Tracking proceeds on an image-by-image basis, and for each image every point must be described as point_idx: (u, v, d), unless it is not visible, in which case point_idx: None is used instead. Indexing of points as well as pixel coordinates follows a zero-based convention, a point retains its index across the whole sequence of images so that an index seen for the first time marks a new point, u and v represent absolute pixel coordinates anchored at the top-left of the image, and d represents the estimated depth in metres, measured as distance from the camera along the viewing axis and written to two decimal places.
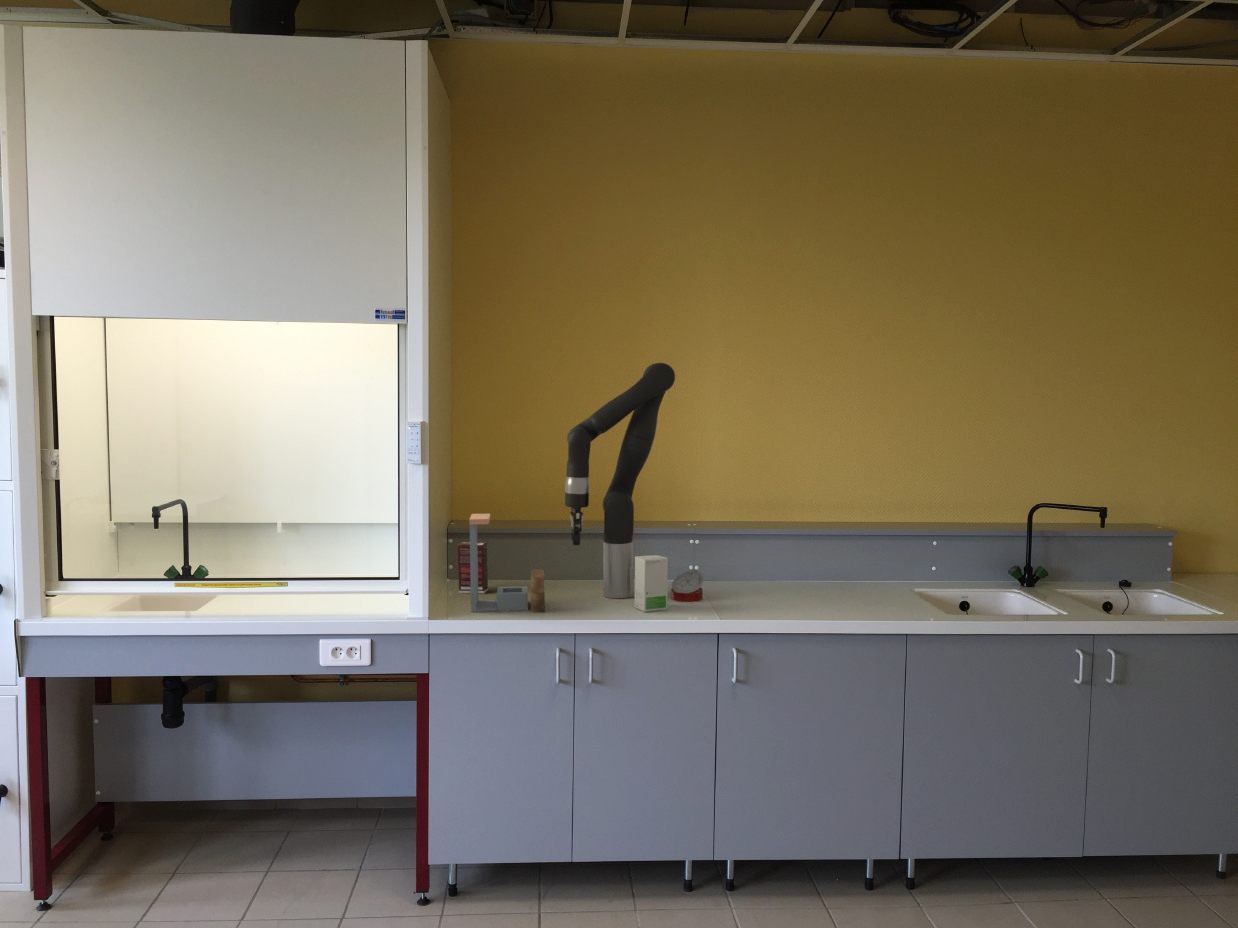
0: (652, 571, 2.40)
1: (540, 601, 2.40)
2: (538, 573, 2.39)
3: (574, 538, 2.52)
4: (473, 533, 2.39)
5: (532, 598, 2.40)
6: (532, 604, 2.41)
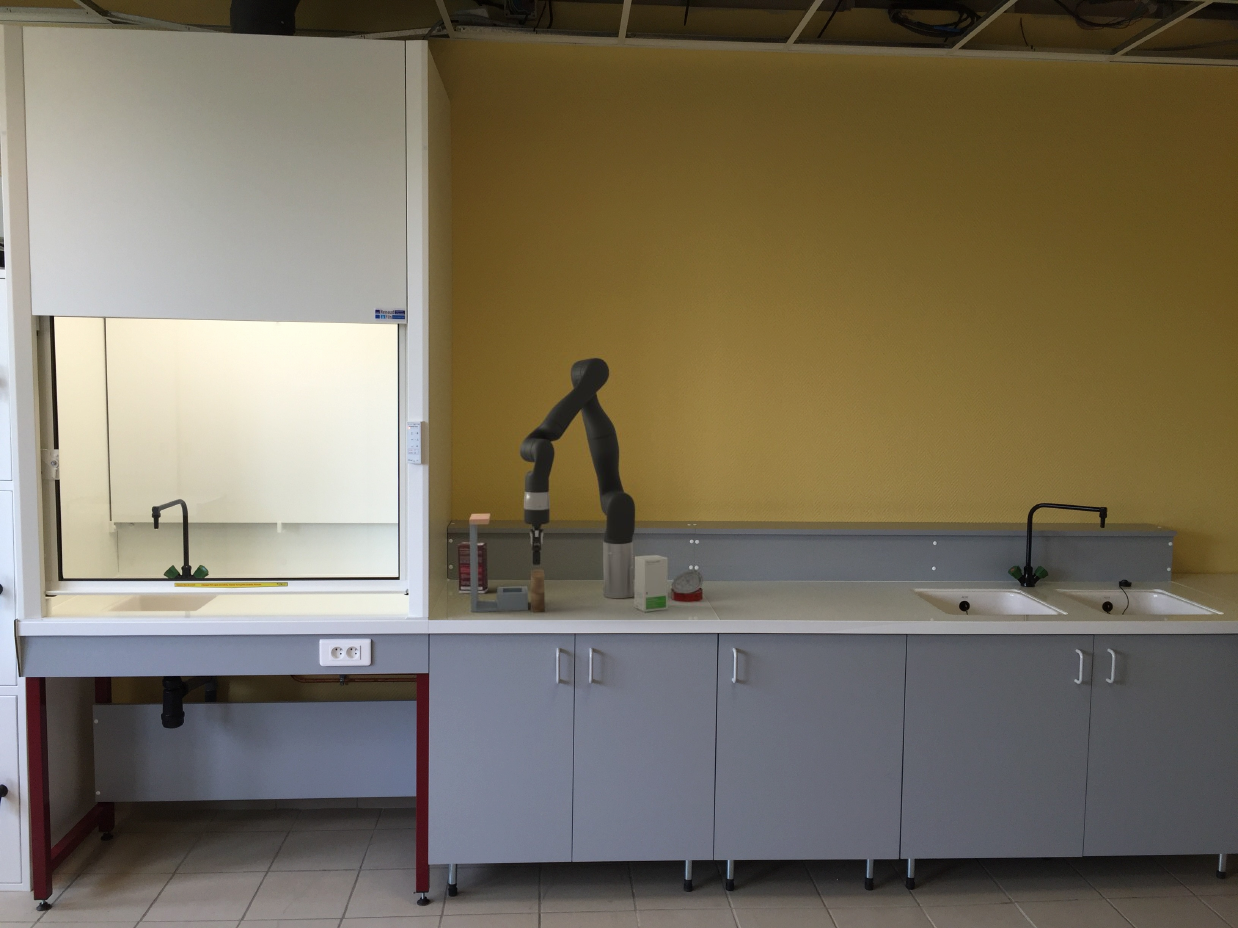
0: (652, 571, 2.40)
1: (540, 601, 2.40)
2: (538, 573, 2.39)
3: (534, 557, 2.36)
4: (473, 533, 2.39)
5: (532, 598, 2.40)
6: (532, 604, 2.41)
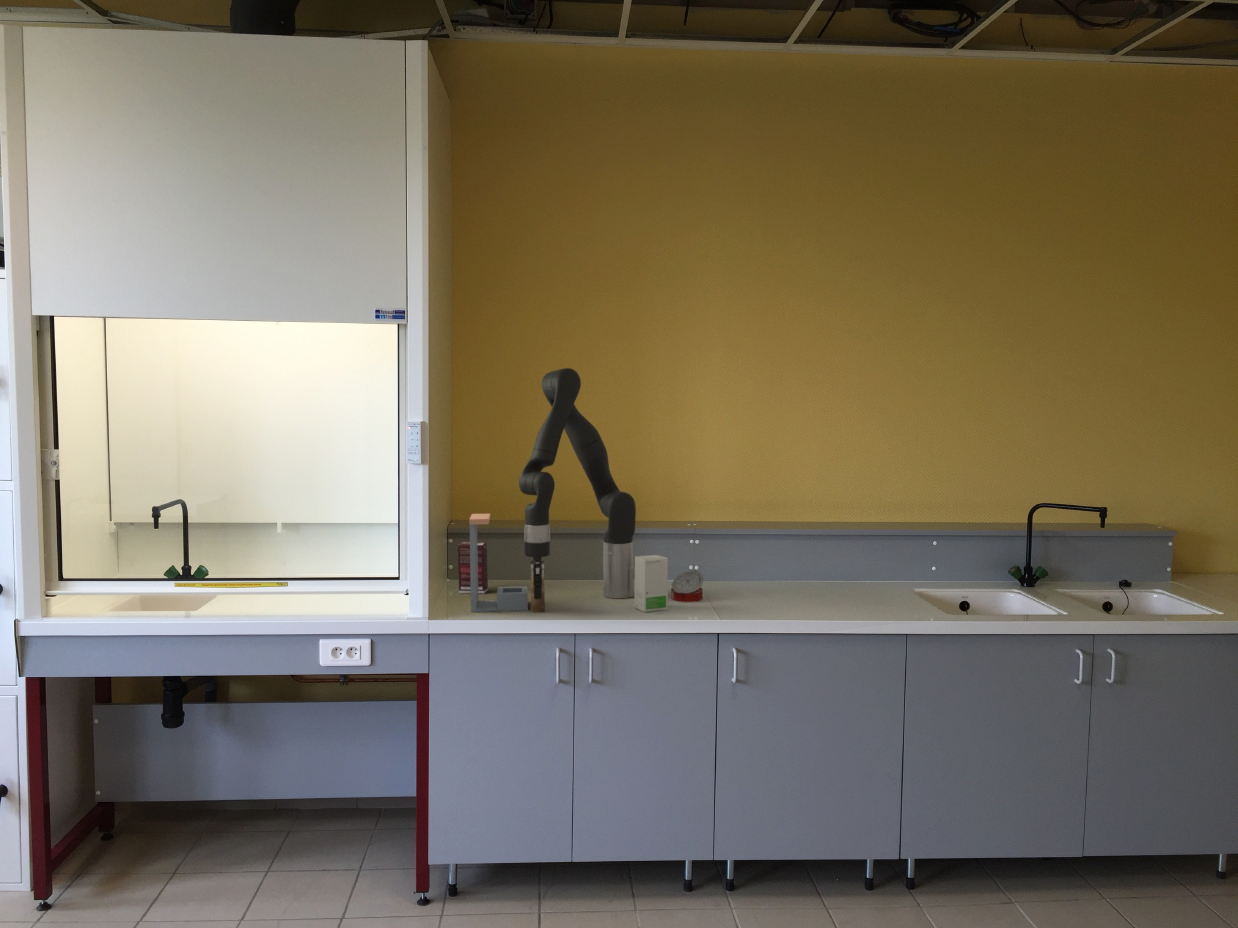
0: (652, 571, 2.40)
1: (540, 601, 2.40)
2: None
3: (535, 592, 2.38)
4: (473, 533, 2.39)
5: (532, 598, 2.40)
6: (532, 604, 2.41)
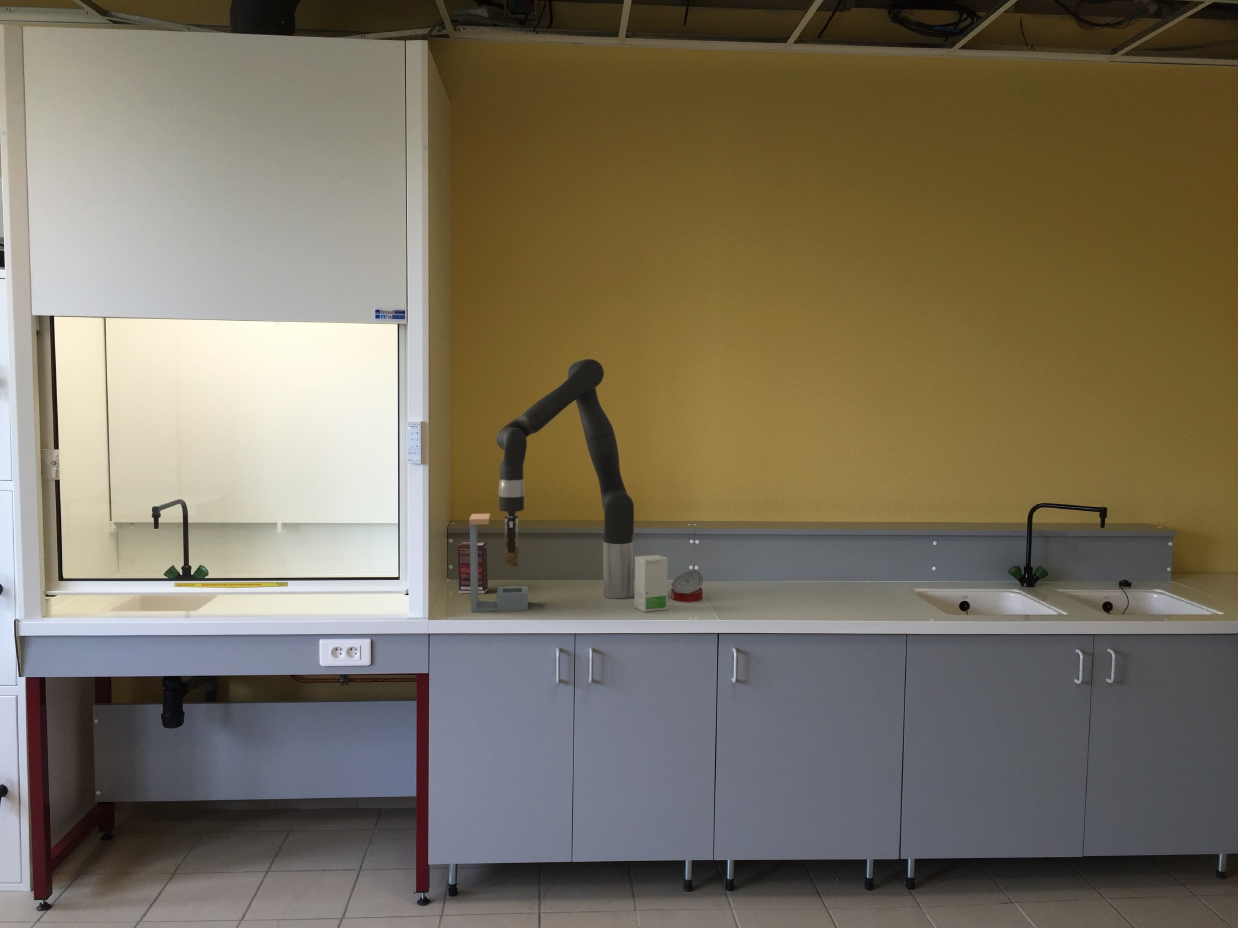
0: (652, 571, 2.40)
1: (513, 555, 2.44)
2: None
3: (509, 546, 2.43)
4: (473, 533, 2.39)
5: (506, 552, 2.45)
6: (506, 558, 2.45)
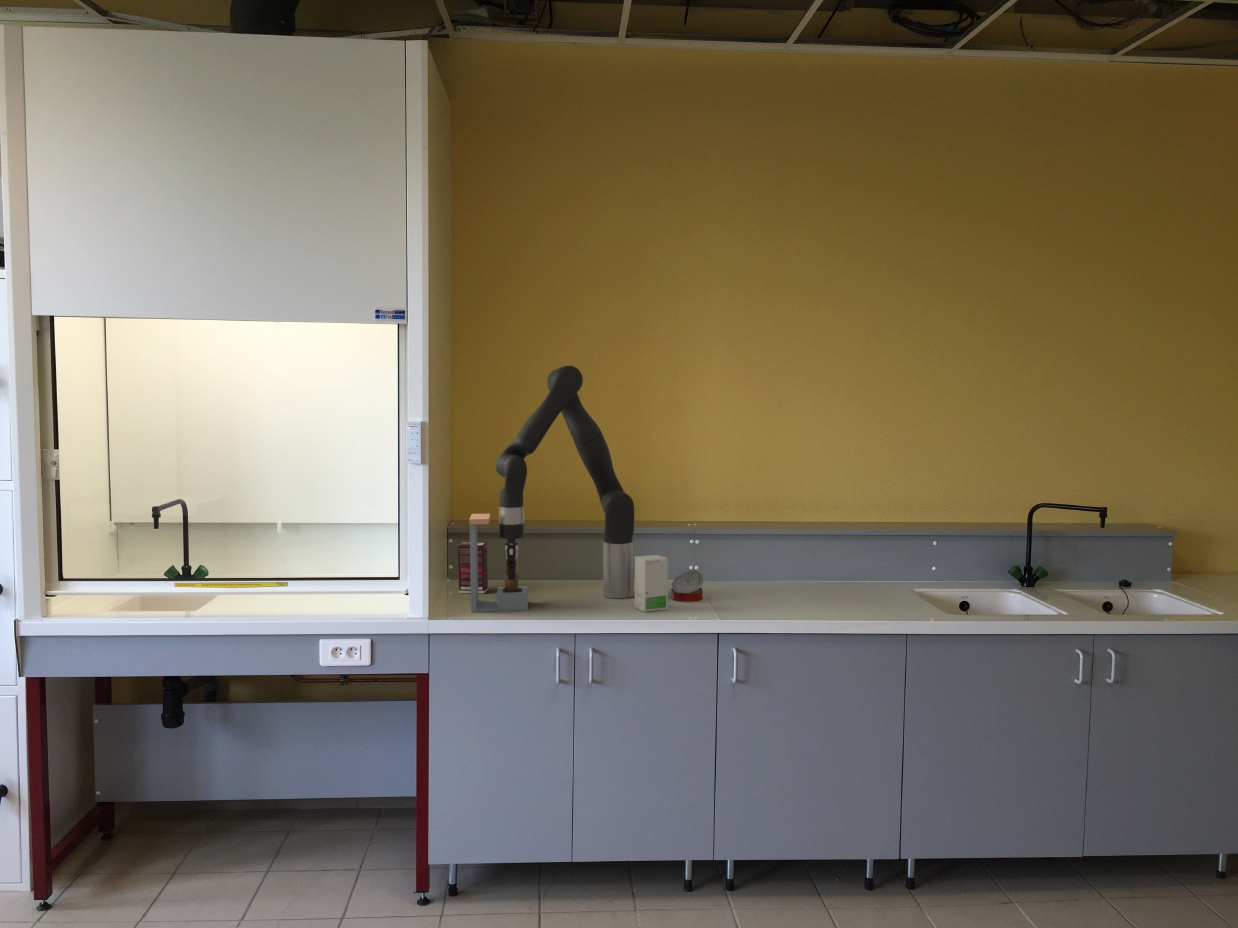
0: (652, 571, 2.40)
1: (513, 582, 2.45)
2: None
3: (509, 573, 2.43)
4: (473, 533, 2.39)
5: (506, 579, 2.45)
6: (506, 585, 2.45)
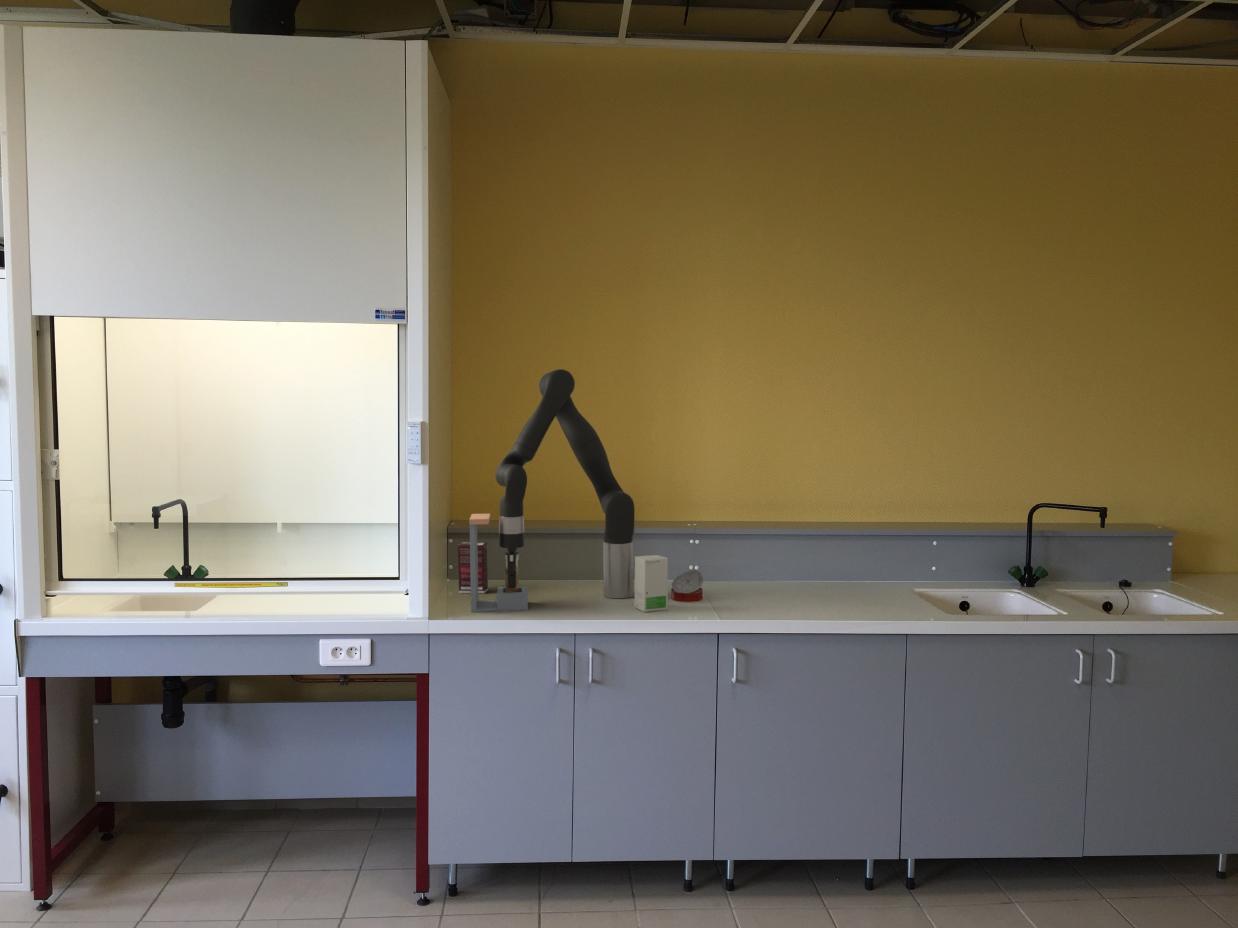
0: (652, 571, 2.40)
1: None
2: (512, 569, 2.44)
3: (509, 581, 2.42)
4: (473, 533, 2.39)
5: None
6: None
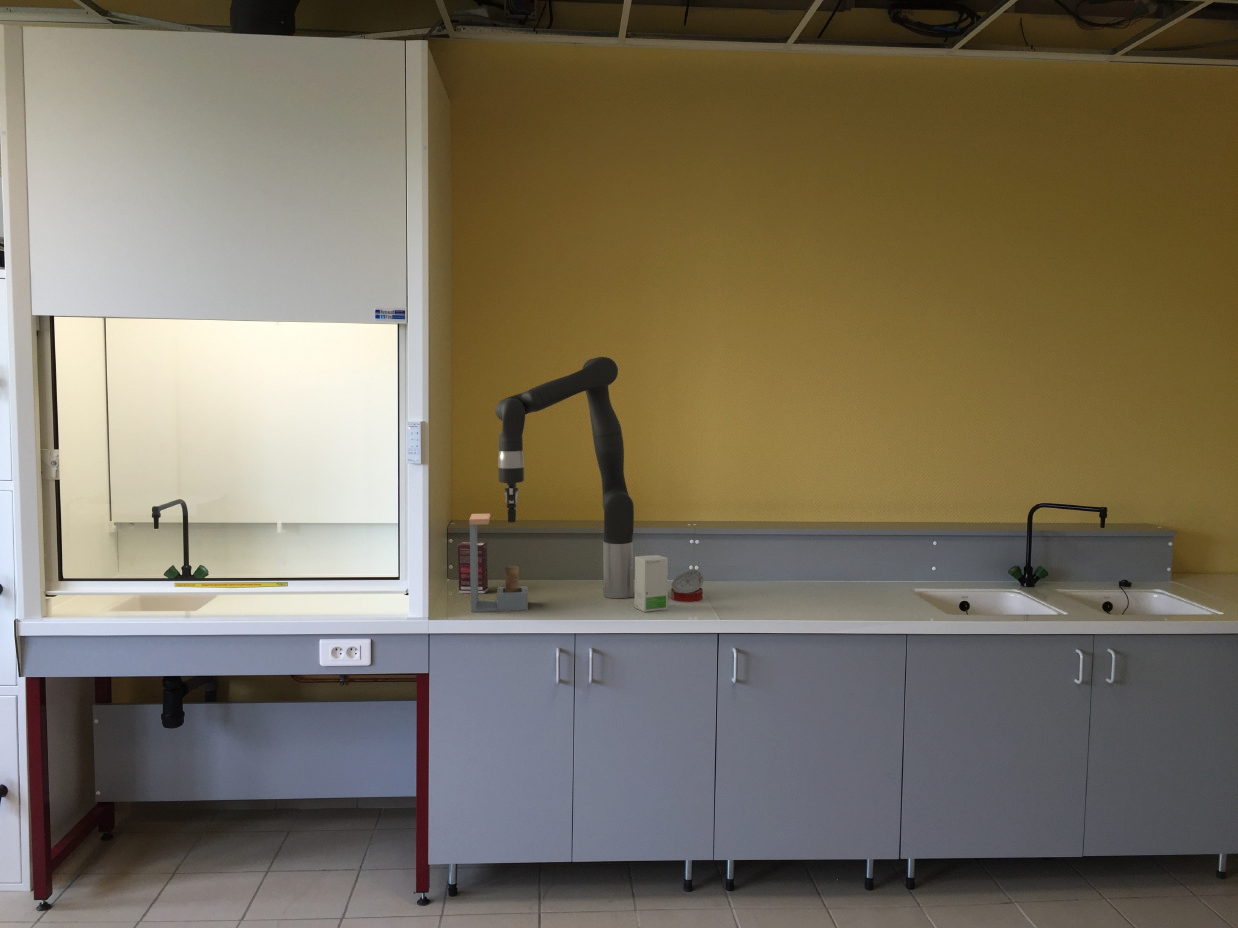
0: (652, 571, 2.40)
1: None
2: (512, 569, 2.44)
3: (509, 515, 2.40)
4: (473, 533, 2.39)
5: None
6: None
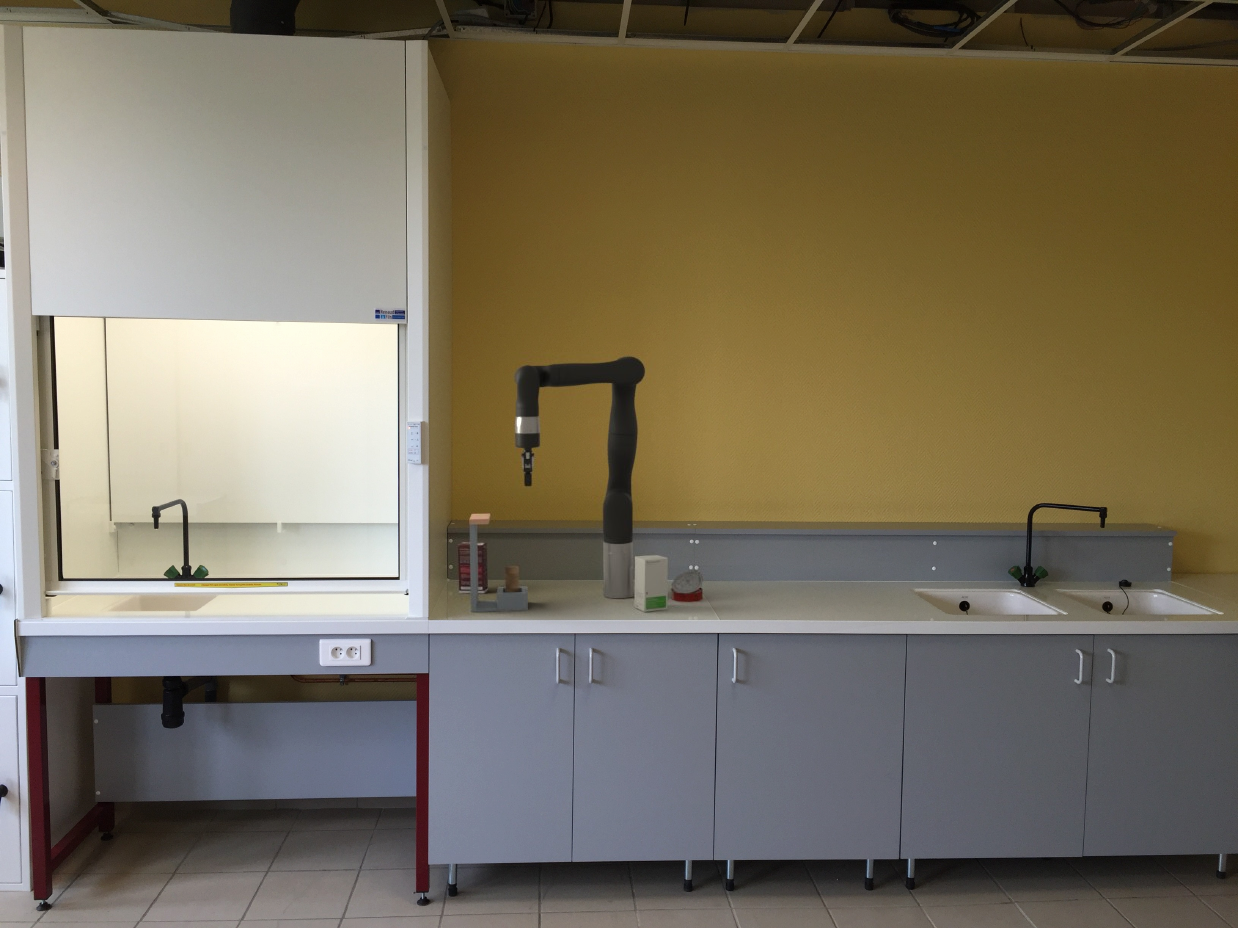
0: (652, 571, 2.40)
1: None
2: (512, 569, 2.44)
3: (525, 479, 2.45)
4: (473, 533, 2.39)
5: None
6: None
